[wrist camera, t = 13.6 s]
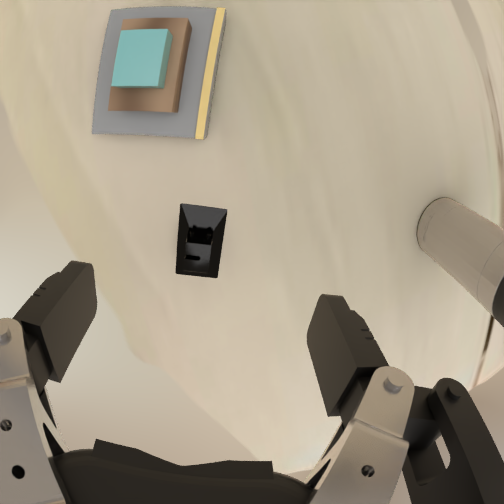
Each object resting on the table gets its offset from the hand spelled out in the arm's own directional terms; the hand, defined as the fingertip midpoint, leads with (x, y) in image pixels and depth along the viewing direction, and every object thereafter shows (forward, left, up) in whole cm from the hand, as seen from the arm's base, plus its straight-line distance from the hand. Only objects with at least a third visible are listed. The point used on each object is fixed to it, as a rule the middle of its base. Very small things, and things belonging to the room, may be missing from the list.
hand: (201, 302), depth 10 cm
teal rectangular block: (+8, -11, -18) cm, 22 cm away
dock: (+8, -10, -25) cm, 28 cm away
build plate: (+1, +9, -26) cm, 28 cm away
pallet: (+8, -10, -21) cm, 25 cm away
